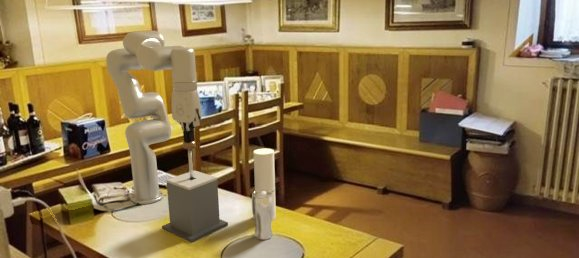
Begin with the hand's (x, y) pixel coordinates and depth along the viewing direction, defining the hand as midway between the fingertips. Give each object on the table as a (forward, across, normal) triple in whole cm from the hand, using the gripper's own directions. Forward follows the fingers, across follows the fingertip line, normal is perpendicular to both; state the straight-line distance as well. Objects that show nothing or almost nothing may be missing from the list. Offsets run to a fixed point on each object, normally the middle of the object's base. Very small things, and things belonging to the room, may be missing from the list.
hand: (189, 141), depth 158 cm
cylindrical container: (+31, +14, +21) cm, 40 cm away
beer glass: (+31, +23, +10) cm, 40 cm away
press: (+31, 0, 0) cm, 31 cm away
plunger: (+17, 0, 0) cm, 17 cm away
